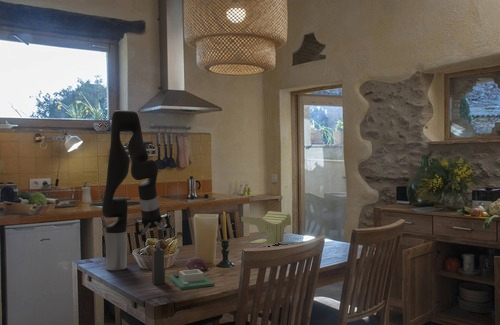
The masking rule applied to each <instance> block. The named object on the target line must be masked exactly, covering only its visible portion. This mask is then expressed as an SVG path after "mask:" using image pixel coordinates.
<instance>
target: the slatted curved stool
mask: <svg viewBox="0 0 500 325" xmlns="http://www.w3.org/2000/svg"><path fill="white" fill-rule="evenodd" d="M241 222H243V223H246V224H249V225H252V226H255V227H256V228H257V230H258V232H261V233H265V234H266V235H267V239H266V238H260V239H259V238H258V239H255V240H252V241H250V242H249V244H250V243H264V244H275V243H278V242H282V241H284V233H285V229H286V228H287V227H288V226H292V216H291V215H290V213H288V212H283V211H274V210H273V211H270V210H268V211H267V213H266V214H265V215H264V216H263V217H262V218H260V217H252V216H250V217H249V216H241ZM282 243H283V242H282Z"/></svg>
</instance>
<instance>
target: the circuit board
mask: <svg viewBox="0 0 500 325" xmlns="http://www.w3.org/2000/svg"><path fill="white" fill-rule="evenodd" d="M204 274H205V273H204V272H203V271H202V270H201V269H200V270H199V269H194V270H189V269H186V270H179V271H178V273H173V274H169V275H167V278H168V279H169V280H170V281H171V282H172V283H173V284H174V285H175V286H176V287H177V288H178V289H179V290H180V291H181V290H188V289H196V288H197V289H199V288H207V287H213V286H215V283H214V282H213V281H212V280H210V279H209V278H208V277H206V276H205V275H204Z"/></svg>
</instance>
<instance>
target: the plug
mask: <svg viewBox="0 0 500 325" xmlns="http://www.w3.org/2000/svg"><path fill="white" fill-rule="evenodd" d="M164 251H165V249H163V248H161V242H160V241H156V242H155V248H152V249H151V276H152V279H151V283H152V284H153V285H154V286H158V285H164V284H165V283H166V268H165V252H164Z"/></svg>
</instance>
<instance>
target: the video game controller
mask: <svg viewBox="0 0 500 325" xmlns="http://www.w3.org/2000/svg"><path fill="white" fill-rule="evenodd" d="M185 266H186V268H187V270H194V269H199V270H200V271H201V268H202V269H204V270H209V266H208V264H207V263H206V262H205V260H204V258H202V257H193V258H190V259H188V260H187V261H186V262H185Z"/></svg>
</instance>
